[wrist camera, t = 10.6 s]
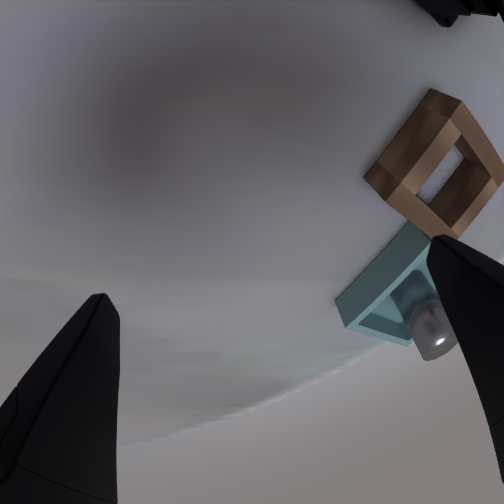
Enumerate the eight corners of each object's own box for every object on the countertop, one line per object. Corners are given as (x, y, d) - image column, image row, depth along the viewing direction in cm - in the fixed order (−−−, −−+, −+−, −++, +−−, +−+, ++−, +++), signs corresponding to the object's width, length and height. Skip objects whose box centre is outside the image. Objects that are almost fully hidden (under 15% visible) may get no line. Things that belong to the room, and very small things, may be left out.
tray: (410, 218, 23) (430, 242, 21) (459, 260, 28) (475, 281, 25) (334, 301, 28) (345, 327, 26) (395, 324, 33) (406, 346, 30)
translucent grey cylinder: (410, 264, 26) (450, 327, 20) (430, 277, 27) (467, 334, 21) (382, 294, 27) (414, 358, 22) (404, 303, 29) (435, 362, 23)
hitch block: (430, 88, 17) (462, 100, 14) (482, 155, 20) (508, 173, 17) (363, 177, 21) (385, 201, 18) (425, 226, 24) (446, 251, 21)
